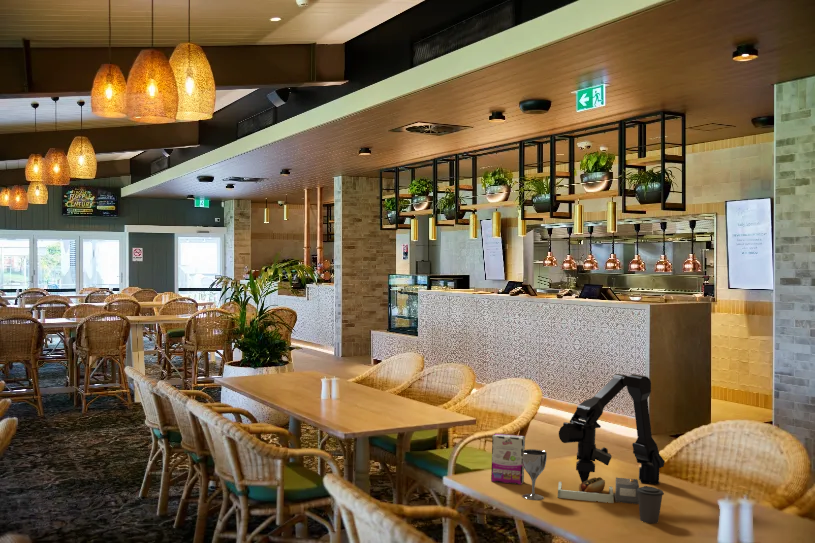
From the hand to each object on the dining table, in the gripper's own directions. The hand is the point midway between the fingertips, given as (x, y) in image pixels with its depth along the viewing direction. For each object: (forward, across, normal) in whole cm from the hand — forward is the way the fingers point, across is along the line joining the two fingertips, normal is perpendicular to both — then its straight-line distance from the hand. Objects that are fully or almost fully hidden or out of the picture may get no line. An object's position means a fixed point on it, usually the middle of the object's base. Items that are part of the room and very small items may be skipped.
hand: (584, 485), depth 269 cm
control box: (+2, -6, -14) cm, 15 cm away
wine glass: (+2, -14, +17) cm, 22 cm away
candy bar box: (+2, +2, +27) cm, 27 cm away
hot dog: (+2, -4, -3) cm, 5 cm away
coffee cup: (+2, -26, -20) cm, 33 cm away
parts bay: (+2, -6, 0) cm, 6 cm away
